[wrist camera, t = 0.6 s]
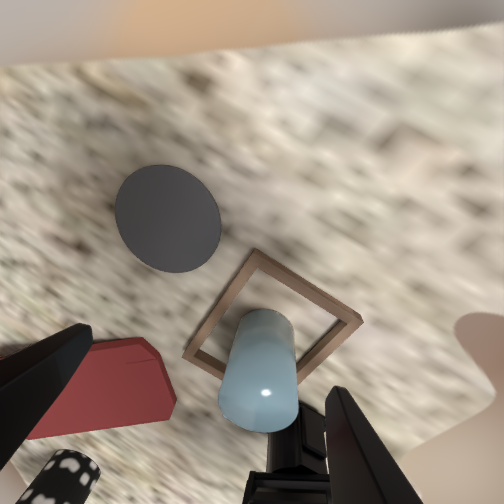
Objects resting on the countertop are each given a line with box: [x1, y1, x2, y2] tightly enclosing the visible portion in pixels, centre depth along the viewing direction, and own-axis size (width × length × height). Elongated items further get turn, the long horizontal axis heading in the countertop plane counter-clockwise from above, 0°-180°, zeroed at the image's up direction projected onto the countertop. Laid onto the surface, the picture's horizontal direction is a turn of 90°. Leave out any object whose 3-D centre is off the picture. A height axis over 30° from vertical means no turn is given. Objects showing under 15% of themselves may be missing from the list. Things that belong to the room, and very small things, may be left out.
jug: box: [218, 309, 299, 433], centre depth 22 cm, size 8×6×8 cm
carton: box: [0, 338, 177, 440], centre depth 31 cm, size 12×5×25 cm
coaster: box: [115, 165, 221, 273], centre depth 22 cm, size 10×10×1 cm
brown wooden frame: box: [182, 248, 364, 385], centre depth 25 cm, size 15×12×1 cm
